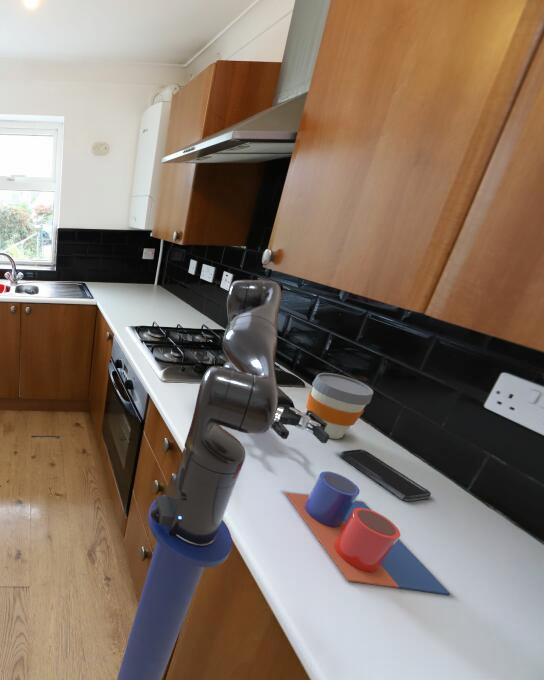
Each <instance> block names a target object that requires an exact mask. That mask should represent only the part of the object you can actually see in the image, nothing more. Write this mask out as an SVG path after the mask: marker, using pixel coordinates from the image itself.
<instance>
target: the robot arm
mask: <svg viewBox="0 0 544 680" xmlns="http://www.w3.org/2000/svg"><path fill="white" fill-rule="evenodd" d="M281 302H282V290H281V286H280V285H279V283H277V282H276V281H273V280H266V279H265V280H262V279H236V280H234V281H232V283H231V284H230V286H229V289H228V292H227V299H226V311H227V321H228V323H227V326H226V328H225V330H224V335H223V338H222V351H223V353H224V356H225V357H226V360H227V361H226V362H225V363H224V364H223V365H222V366H219V365H212V366H210V367H209V368H208V369H207V370H206V371H205V372H204V374H203V375H202V378H201V381H200V383H199V387H198V392H197V396H196V400H195V405H194V411H193V415H192V419H191V422H190V426H189V429H188V432H187V434H186V435H187V436H186V438H185V442H184V446H183V450H182V453H181V456H180V460H179V463H178V466H177V470H176V473H171V475H170V477H169V481H168V485H167V489H166V492H165V494H164V495H165V496H163V495H156V498H155V500H156V501H155V500H154V501H155V507H156V508H155V509H153V510H152V511H151V517H152V519H153V520H154V521H155V522H156V523H160V525H164V526H167V530H168V533H169V535H170V536H175V537H177V538H178V539H179V540H181V541H183V542H185V543H187V544H189V545H192V546H196V547H206V546H209V545H211V544H212V543H213V542H214V541H215V539H216V536H217V532H218V529H219V526H220V524H221V521H222V520H223V518H224V515H225V513H226V511H227V508H228V505H229V503H230V500H231V497H232V495H233V492H234V490H235V487H236V484H237V481H238V479H239V476H240V474H241V471H242V469H243V466H244V463H245V461H246V456H247V455H246V448H245V447H244V445H243V444H242V442H241V441H240V440H239V439H238V438H237V437H236V436H234V435H233V434H232V433H230V432H229V431H228V430H227V429H230V430H234V431H237V432H239V433H243V434H246V435H250V436H261V435H264V434H266V433H267V432H269V430H273V431H274V432H275V433H276V434H277V436H279V437H280V438H281V439H282V440H287V439H288V437H289V435H290V431H289V430H288V428H287V427H286V426H288V425H289V426H294V427H295V428H296V429H297V428H298V429H300V430H301V431H305V430H306V431H308V432H309V433H311V434H312V435H313V436H314V437H315V438H316V439H317V440H318V441H319V442H320V443H322V444H327V443H328V441H329V440H330V438H329V437H330V436H329V435H328V434H327V433H326V432H325V431H324V430H325V428H326V426H327V423H326V422H324V421H323V420H322V419H321V418H320V417H318V416H317V415H316V414H315V413H314V412H312V411H310V410H307V409H306V412H302V411H301V410H299V409H297V408H296V407H295V404H294V401H293V399H291V398H290V396H289V395H287V394H286V393H285V392H284V391H283V390H282V389H281V388H280V387H279V386H278V382H277V372H276V356H277V349H278V338H279V337H278V336H279V335H278V317H279V311H280V308H281V307H280V306H281ZM302 419H303V422H302V423H301V424H300V422H301V421H302ZM308 423H309V424H310V425H311V426H312V427H313V428H311V427H309V426H308ZM223 427H224V428H223ZM225 428H227V429H225ZM156 515H158V516H156Z"/></svg>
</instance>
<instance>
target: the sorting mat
mask: <svg viewBox="0 0 544 680" xmlns="http://www.w3.org/2000/svg"><path fill="white" fill-rule="evenodd" d="M285 495H286V496H287V498H288V499H289V501H290V502H291V504H292V505H293V507H294V508H295V509H296V510H297V512H298V513H299V515H300V516H301V517H302V519H303V520H304V522H305V523H306V524H307V526H308V528H309V529H310V530H311V531H312V533H313V535H314V536H315V537H316V539H317V540H318V541H319V543H320V544H321V545H322V547H323V548H324V549H325V551H326V552H327V554H328V555H329V557H330V558H331V559H332V561H333V562H334V563H335V565H336V566H337V568H338V569H339V571H340V572H341V573H342V575H343V576H344V577H345V579H346V580H347V581H348V582H350V583H356V584H365V585H374V586H381V587H388V588H395V589H401V590H402V589H403V590H408V591H409V590H410V591H417V592H425V593H433V594H437V595H438V594H439V595H446V596H450V594H451V593H450V591H448V589H447V588H445V586H444V585H443V584H442V583H441V582H440V581H439V580H438V579H437V578H436V576H434V575H433V574H432V573H431V572H430V571H429V570H428V568H427V567H426V566H424V564H423V563H422V562H421V561H420V560H419V559H418V558H417V557H416V556H415V555H414V553H412V551H410V549H408V547H407V546H405V544H404V543H403V542H402V541H401V540H400V538H399V539H398V540H397V542H396V543H395V545H394V546H393V548H392V549H391V551H390V552H389V554H388V555H387V557H386V558H385V560H384V561H383V562H382V564H381V565H380V567H379V568H378V570H377V571H376V572H365V571H362V570H359V569H357V568H355V567H353V566H351V565H350V564H348V563H347V562H346V561H345V560H343V559H342V558H341V557H340V556H339V554H338V553H337V552H336V550H335V548H334V543H335V541H336V539H337V537H338V536H339V534H340V532H341V531H342V529H343V527H344V525H345V524H346V522H347V520H348V518H349V517H350V515H351V513H352V511H353V510H354V509H355V508H366V509H369V510H371V508H369V506H368V505H367V504H366V503H365V502H364V501H360V500H355V502H354V504H353V505H352V507H351V509H350V511H349V512H348V514H347V516H346V518H345V519H344V521H343V523H342V525H341V526H340V527H329V526H326V525H324V524H321V523H320V522H318V521H316V520H315V519H313V518H312V517H311V516H310V515H309V514H308V513H307V512H306V510H305V507H304V506H305V503H306V501H307V499H308V497H309V495H310V494H302V493H293V492H285Z"/></svg>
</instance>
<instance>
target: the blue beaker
mask: <svg viewBox="0 0 544 680" xmlns="http://www.w3.org/2000/svg"><path fill="white" fill-rule="evenodd" d="M360 492H361V491H360V488H359V487H358V486H357V484H355V482H354V481H352V480H351V479H349V478H348V477H346V476H343V475H341V474H339V473H336V472H333V471H328V470H327V471H326V470H325V471H321V472H320V473H319V475H318V477H317V479H316V481H315V482H314V485H313V487H312V489H311V491H310V492H309V494H308V495H309V497H308V499H307V501H306V503H305V506H304V507H305V510H306V512H307V513H308V514H309V515H310V516H311V517H312V518H313V519H315V520H316V521H318V522H320V523H321V524H324V525H326V526H329V527H340V526H341V525H342V523H343V521H344V519H345V518H346V516H347V514H348V512H349V511H350V509H351V507H352V505H353V504H354V502H355V501H357V498H358V497H359V495H360Z"/></svg>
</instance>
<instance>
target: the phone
mask: <svg viewBox="0 0 544 680" xmlns="http://www.w3.org/2000/svg"><path fill="white" fill-rule="evenodd" d="M339 457H340V458H342V459H343V460H344V461H346V462H347V463H348V464H350V465H351V466H353V467H354V468H356V469H357V470H358V471H360V472H361V473H362V474H364V475H366V476H367V477H369V478H370V479H372V480H373V481H374V482H376V483H377V484H379V485H380V486H382V487H383V488H385V489H386V490H387V491H389V492H390V493H391V494H393V495H395V496H396V497H397V498H399V499H401V500H402V501H404V502H415V501H421V500H427V499H429V498H430V497H431V495H432V493H431V492H430V491H429V490H428V489H427V488H425V487H424V486H422V485H420V484H418V483H417V482H416V481H414V480H413V479H411V478H409V477H408V476H406V475H404V474H403V473H401V472H400V471H399V470H398V469H396V468H394V467H392V466H391V465H389V464H388V463H386V462H384V461H383V460H381V459H380V458H378V457H376V456H375V455H373V454H372V453H370V452H369V451H367V450H365V449H361V448H360V449H352V450H343V451H341V453H340V456H339Z"/></svg>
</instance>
